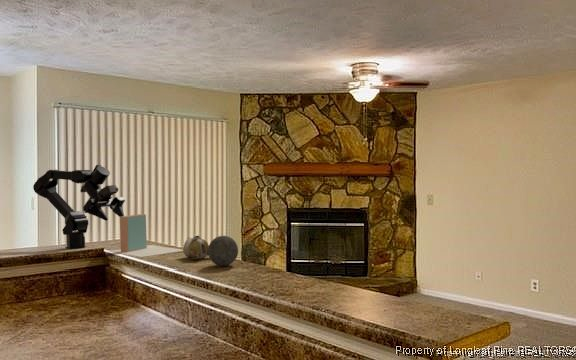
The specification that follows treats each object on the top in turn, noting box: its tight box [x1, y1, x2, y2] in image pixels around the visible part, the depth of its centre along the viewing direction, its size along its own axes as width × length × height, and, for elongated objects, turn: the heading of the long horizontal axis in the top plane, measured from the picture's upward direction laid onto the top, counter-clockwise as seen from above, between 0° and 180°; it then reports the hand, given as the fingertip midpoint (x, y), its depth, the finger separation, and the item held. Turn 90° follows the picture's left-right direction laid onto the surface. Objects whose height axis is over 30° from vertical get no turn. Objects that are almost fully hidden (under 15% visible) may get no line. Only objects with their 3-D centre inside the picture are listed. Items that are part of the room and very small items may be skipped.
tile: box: [119, 213, 148, 252], centre depth 210 cm, size 4×11×14 cm, turn 154°
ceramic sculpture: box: [182, 235, 210, 260], centre depth 189 cm, size 11×9×15 cm
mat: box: [109, 244, 184, 258], centre depth 208 cm, size 20×26×1 cm
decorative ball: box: [207, 235, 239, 267], centre depth 172 cm, size 10×10×10 cm
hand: (115, 218), depth 215 cm, fingers open, 9 cm apart
